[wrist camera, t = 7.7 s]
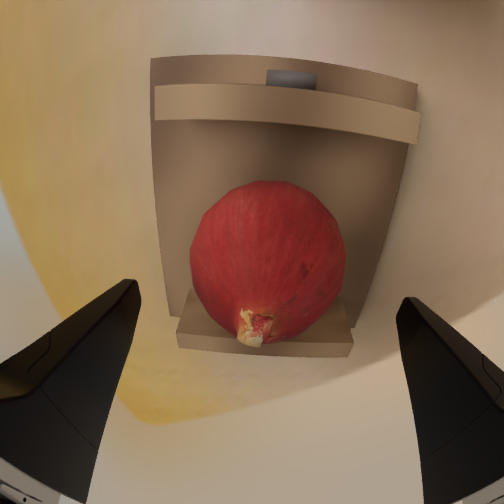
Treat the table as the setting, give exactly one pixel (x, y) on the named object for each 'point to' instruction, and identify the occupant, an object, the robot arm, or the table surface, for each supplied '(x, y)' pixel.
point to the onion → (267, 261)
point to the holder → (276, 169)
